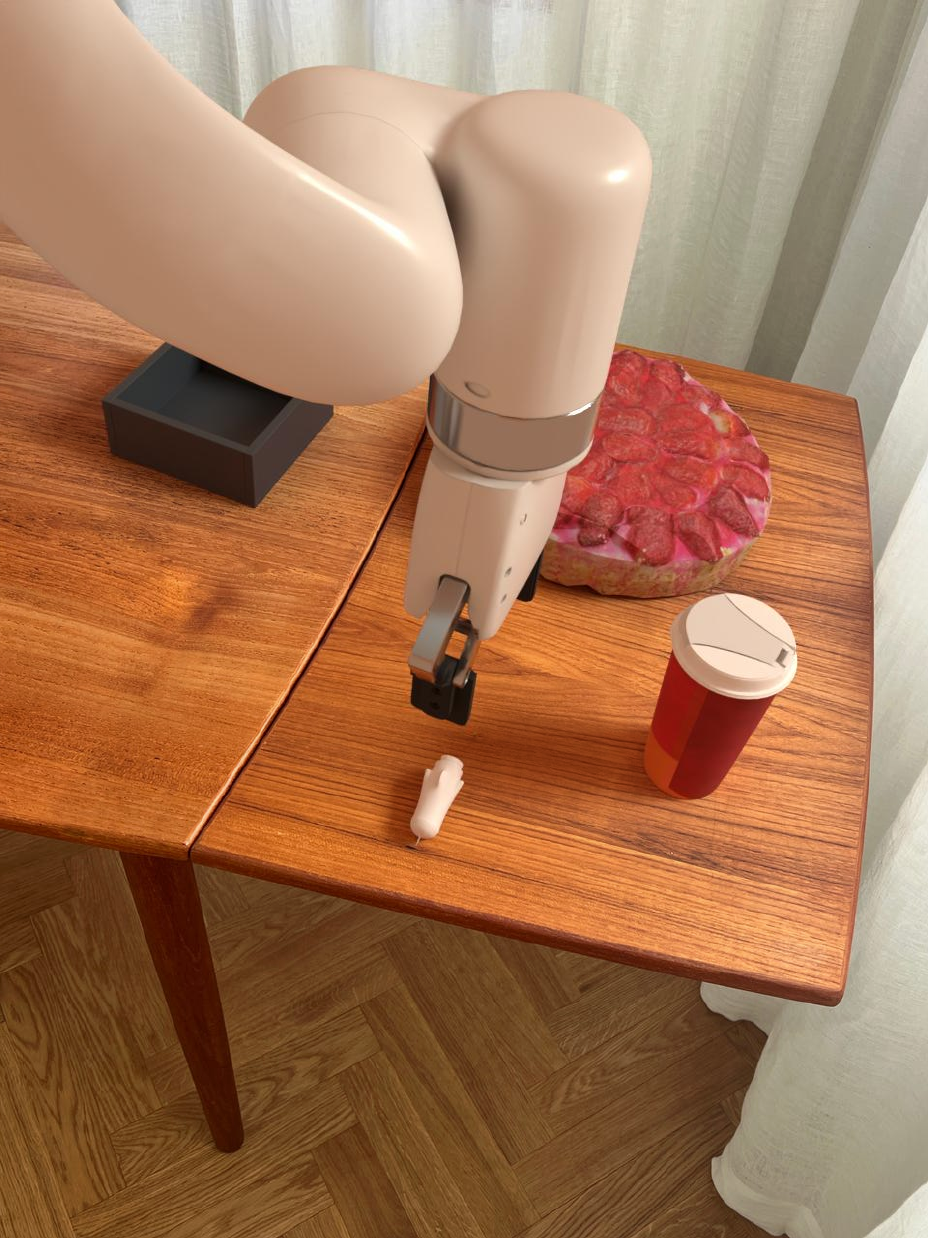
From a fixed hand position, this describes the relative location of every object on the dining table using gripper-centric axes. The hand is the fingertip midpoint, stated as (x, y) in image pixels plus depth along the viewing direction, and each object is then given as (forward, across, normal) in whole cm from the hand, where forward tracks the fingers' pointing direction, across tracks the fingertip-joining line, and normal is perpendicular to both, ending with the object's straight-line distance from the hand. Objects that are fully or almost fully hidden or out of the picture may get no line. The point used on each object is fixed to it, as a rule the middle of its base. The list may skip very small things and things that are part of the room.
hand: (475, 648), depth 61 cm
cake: (+16, -34, 0) cm, 37 cm away
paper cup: (+16, -10, +13) cm, 23 cm away
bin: (+16, -25, -32) cm, 43 cm away
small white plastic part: (+16, +1, -1) cm, 16 cm away
